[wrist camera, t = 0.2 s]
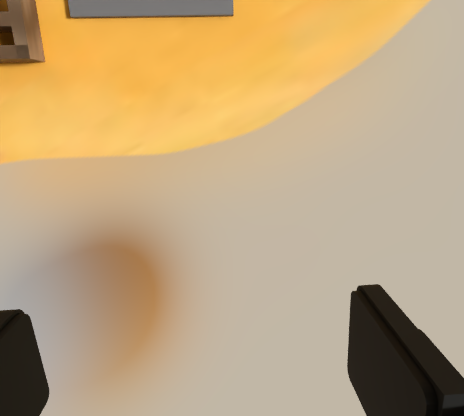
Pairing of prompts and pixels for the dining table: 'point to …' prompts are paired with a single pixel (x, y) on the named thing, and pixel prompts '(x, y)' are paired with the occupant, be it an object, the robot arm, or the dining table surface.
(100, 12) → the rubber mat
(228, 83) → the dining table surface
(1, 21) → the walnut rack
